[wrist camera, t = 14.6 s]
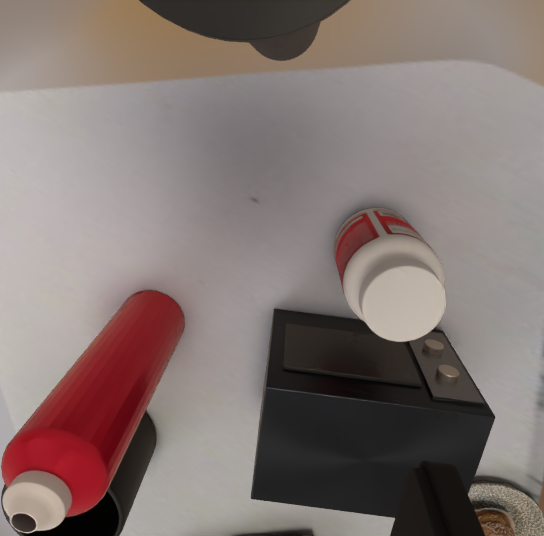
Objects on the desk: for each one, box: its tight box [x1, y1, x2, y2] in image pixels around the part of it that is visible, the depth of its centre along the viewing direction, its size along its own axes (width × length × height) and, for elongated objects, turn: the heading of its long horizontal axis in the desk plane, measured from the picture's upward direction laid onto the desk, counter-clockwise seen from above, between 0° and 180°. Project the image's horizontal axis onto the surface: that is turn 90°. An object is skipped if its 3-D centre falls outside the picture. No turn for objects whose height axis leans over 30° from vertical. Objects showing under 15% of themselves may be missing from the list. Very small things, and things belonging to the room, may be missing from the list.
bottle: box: [1, 291, 185, 533], centre depth 30 cm, size 5×6×20 cm
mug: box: [1, 413, 156, 536], centre depth 39 cm, size 9×12×9 cm
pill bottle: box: [334, 208, 446, 342], centre depth 31 cm, size 6×6×11 cm
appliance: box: [251, 309, 495, 518], centre depth 35 cm, size 10×14×11 cm
